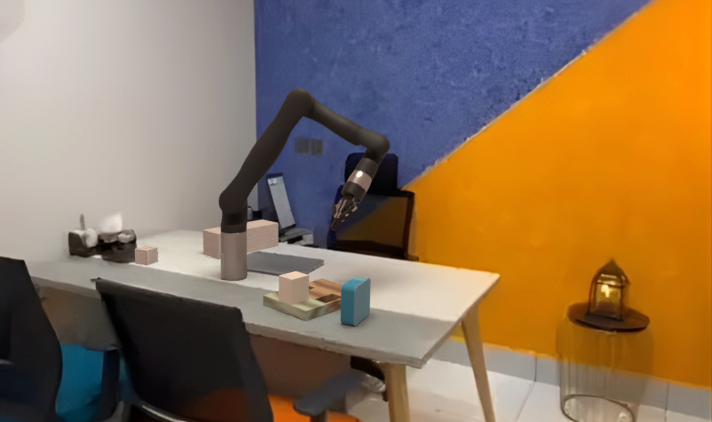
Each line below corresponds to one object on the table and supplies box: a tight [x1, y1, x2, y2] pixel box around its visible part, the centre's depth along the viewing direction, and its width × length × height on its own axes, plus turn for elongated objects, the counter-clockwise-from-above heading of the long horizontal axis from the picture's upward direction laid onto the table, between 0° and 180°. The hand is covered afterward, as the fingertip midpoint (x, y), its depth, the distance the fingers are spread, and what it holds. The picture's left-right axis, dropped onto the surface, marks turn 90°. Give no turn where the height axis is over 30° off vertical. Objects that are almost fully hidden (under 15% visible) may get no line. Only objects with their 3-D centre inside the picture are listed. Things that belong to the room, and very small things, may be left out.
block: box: [278, 270, 310, 305], centre depth 182 cm, size 7×6×8 cm
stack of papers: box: [202, 219, 279, 260], centre depth 253 cm, size 32×11×11 cm, turn 139°
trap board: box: [262, 278, 343, 321], centre depth 190 cm, size 26×20×3 cm
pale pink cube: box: [134, 245, 159, 266], centre depth 231 cm, size 6×6×6 cm
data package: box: [340, 275, 372, 327], centre depth 175 cm, size 12×4×12 cm, turn 157°
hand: (332, 229), depth 195 cm, fingers closed
